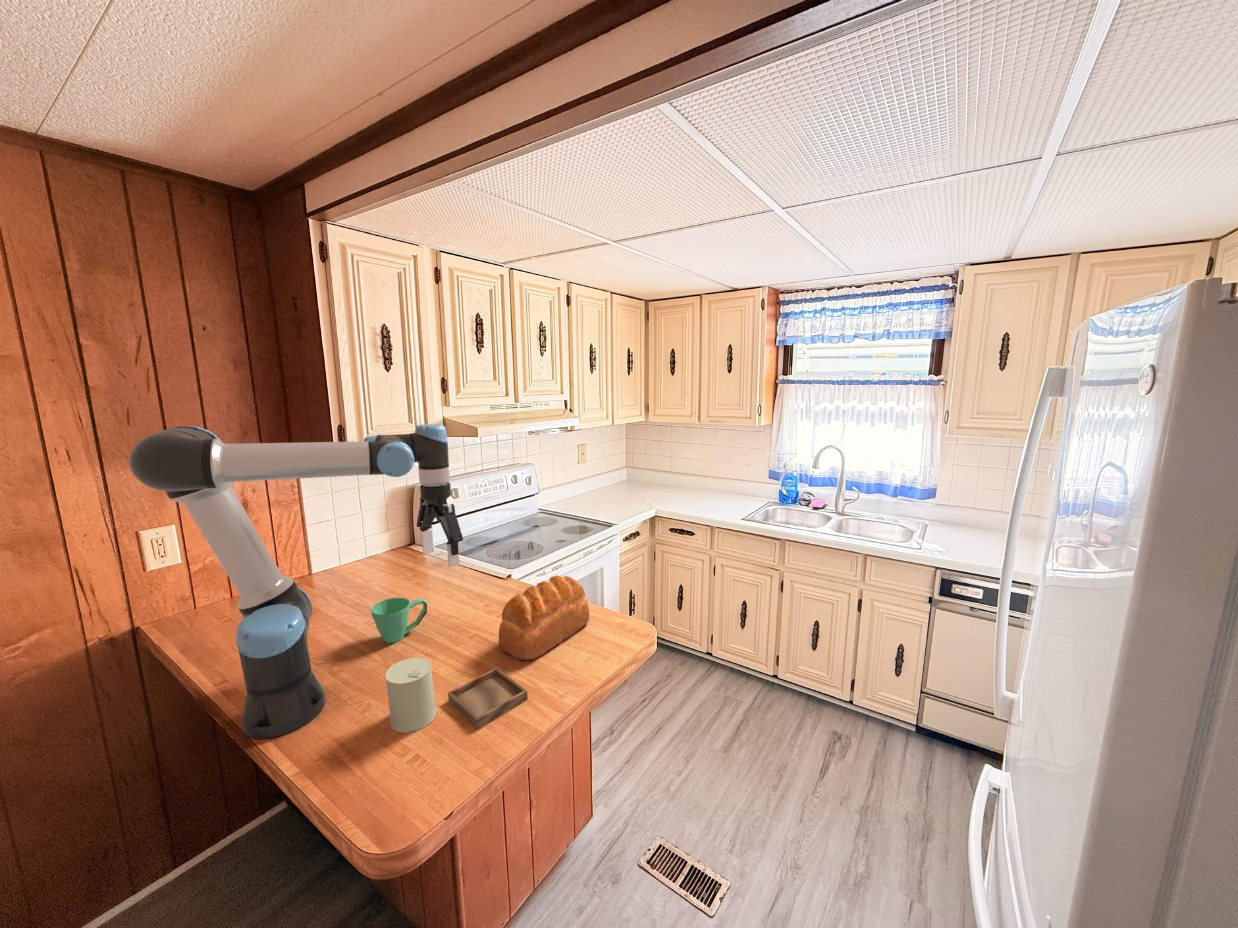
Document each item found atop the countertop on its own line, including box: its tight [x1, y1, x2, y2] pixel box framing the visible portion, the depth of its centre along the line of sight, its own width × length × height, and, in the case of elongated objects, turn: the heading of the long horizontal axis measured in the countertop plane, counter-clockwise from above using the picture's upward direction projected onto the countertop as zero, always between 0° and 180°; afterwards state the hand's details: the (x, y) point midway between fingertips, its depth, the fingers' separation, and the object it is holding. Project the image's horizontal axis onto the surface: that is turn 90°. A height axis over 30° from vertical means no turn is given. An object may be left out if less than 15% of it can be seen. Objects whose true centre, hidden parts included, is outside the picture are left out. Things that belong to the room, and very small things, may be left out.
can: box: [384, 656, 438, 734], centre depth 103 cm, size 9×9×12 cm
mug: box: [370, 597, 428, 644], centre depth 136 cm, size 15×10×10 cm
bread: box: [498, 574, 590, 661], centre depth 134 cm, size 14×26×16 cm, turn 144°
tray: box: [447, 667, 528, 730], centre depth 109 cm, size 13×13×2 cm
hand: (440, 559), depth 130 cm, fingers open, 13 cm apart
